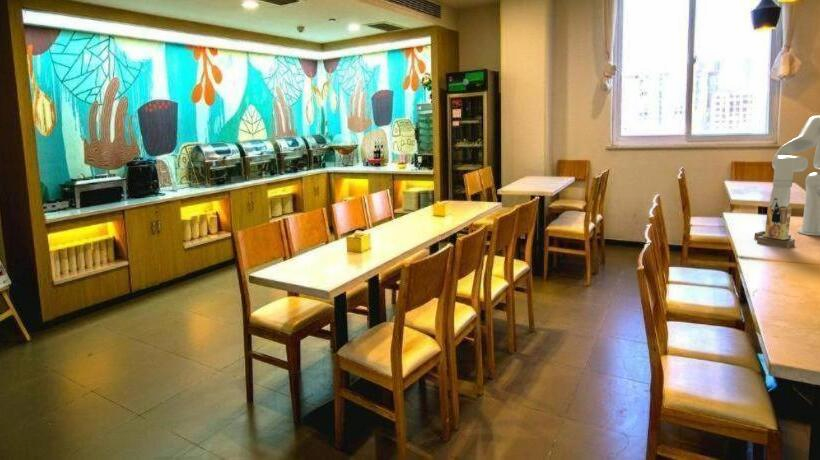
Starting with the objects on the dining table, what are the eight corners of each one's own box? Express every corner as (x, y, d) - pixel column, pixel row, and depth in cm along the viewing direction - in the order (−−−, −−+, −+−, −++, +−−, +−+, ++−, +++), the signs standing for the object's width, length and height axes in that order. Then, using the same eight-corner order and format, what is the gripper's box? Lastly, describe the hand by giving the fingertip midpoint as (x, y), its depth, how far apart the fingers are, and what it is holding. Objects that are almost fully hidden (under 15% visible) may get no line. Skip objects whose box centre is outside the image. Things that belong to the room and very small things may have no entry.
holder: (762, 236, 282) (762, 230, 282) (801, 243, 268) (802, 237, 267) (746, 241, 274) (746, 235, 273) (786, 248, 259) (787, 242, 258)
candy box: (788, 238, 263) (792, 207, 260) (784, 240, 261) (788, 208, 258) (768, 235, 271) (771, 204, 267) (763, 236, 268) (767, 205, 265)
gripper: (782, 181, 268) (777, 218, 272) (765, 184, 259) (760, 222, 263) (799, 182, 262) (794, 220, 266) (782, 185, 253) (778, 224, 257)
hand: (778, 220), depth 264 cm, fingers closed on candy box, 4 cm apart
